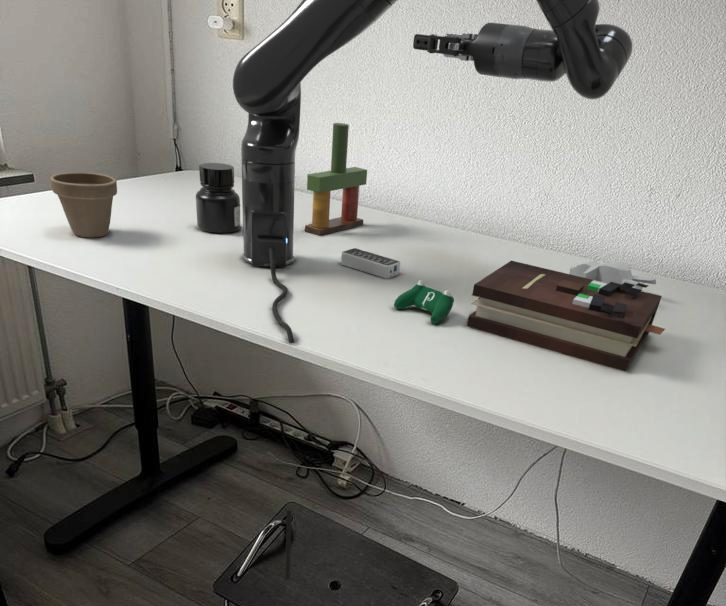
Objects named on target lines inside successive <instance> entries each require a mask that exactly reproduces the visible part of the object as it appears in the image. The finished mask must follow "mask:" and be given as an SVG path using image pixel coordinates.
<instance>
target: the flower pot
mask: <svg viewBox="0 0 726 606" xmlns="http://www.w3.org/2000/svg"><path fill="white" fill-rule="evenodd" d="M117 183H118V181H117V179H116V178H115V177H112V176H110V175H107V174H101V173H96V172H95V173H94V172H61V173H56V174H53V175H51V177H50V184H51V189H52V192H53V194H55V195H57V197H58V199H59V202H60V204H61V207H62V209H63V212H64V214H65V217H66V220H67V222H68V225H69V228H70V229H71V233H73V234H74V235H75V236H77V237H82V238H102V237H104V236H106V235H108V233H109V231H110V225H111V218H112V211H113V209H112V208H113V201H114V200H113V199H114V196H117V194H118V184H117Z"/></svg>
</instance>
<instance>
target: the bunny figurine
mask: <svg viewBox="0 0 726 606" xmlns="http://www.w3.org/2000/svg"><path fill="white" fill-rule="evenodd" d="M569 274H571V275H575V276H579V277H583V278H587V279H592V280H596V281H600V282H604V283H610V282H614V283H618V284H623V283H625V282H626V283H630V284H633V285H635V286H633V287H632V288H636V289H640V290H642V291H643V288H644V287H641V286H637V285H636V284H638V283H641V284H647V285H657V277H655V276H653V275H652V276H651V275H633V274H632V270H631V265H630V264H628V263H625V262H620V261H611V262H602V263H601V262H598V261H597V260H590V261H587V262H584V263H581V264H577V265H576V266H572V267H570V268H569Z"/></svg>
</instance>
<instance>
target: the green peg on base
mask: <svg viewBox="0 0 726 606" xmlns="http://www.w3.org/2000/svg"><path fill="white" fill-rule="evenodd" d="M349 128H350V124H348V123H343V122H334V123H333V124H332V138H331V139H332V141H331V161H330V170H325V171H321V172H320V171H319V172H313V173H307V176H306V177H307V178H306V190H307V191H310V192H313V191H314V192H318V193H322V192H328V191H330V192H331V191H333V192H334V191H338V190H343V189H344V188H349V187H354V186H359V187H360V186H365V185H367V178H368V169H365V168H362V167H357V166H352V167H351V166H350V167H347V162H348V145H349Z"/></svg>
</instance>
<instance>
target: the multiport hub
mask: <svg viewBox="0 0 726 606" xmlns="http://www.w3.org/2000/svg"><path fill="white" fill-rule="evenodd" d="M340 258H341V260H340V265H342V266H344V267H348V268H351V269H355V270H358V271H361V272H364V273H367V274H370V275H373V276H377V277H380V278H382V279H390V278H393V277H396V276H398V275H400V272H401V271H400V270H401V261H400V260H397V259H394V258H391V257H386V256H383V255H380V254H378V253H373V252H371V251H366V250H363V249H360V248H356V247H354V248H351V249H346V250H344V251H341V257H340Z"/></svg>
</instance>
